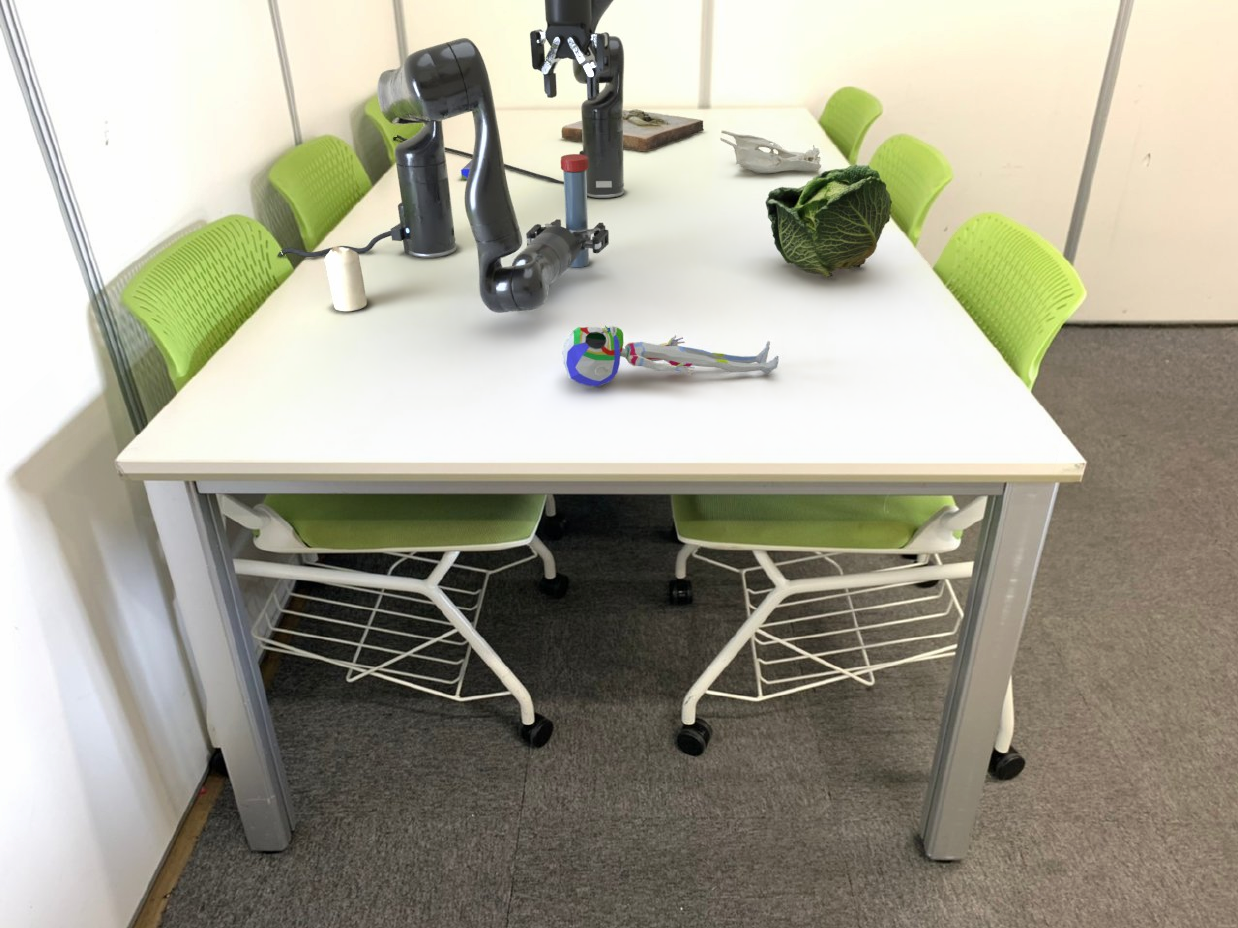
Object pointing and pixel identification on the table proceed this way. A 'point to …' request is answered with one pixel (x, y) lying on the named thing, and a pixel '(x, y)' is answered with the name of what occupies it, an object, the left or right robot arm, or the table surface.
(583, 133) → the right robot arm
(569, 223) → the blue cylindrical tube
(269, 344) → the table surface
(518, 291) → the left robot arm
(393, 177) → the table surface
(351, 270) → the candle
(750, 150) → the anatomical model
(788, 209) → the vegetable
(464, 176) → the pillar
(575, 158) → the lid
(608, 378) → the toy
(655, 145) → the plaque
